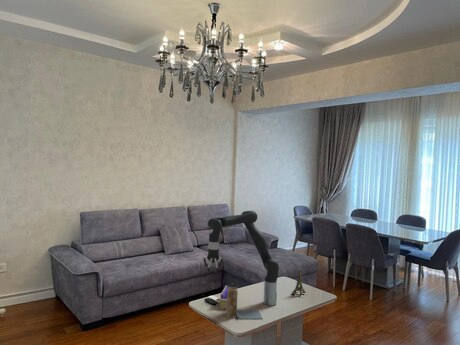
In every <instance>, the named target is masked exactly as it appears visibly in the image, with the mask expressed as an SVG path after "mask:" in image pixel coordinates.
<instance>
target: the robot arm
mask: <svg viewBox="0 0 460 345" xmlns="http://www.w3.org/2000/svg"><path fill="white" fill-rule="evenodd" d="M257 220H258V213H257V212H256V211H254V210H245V211H243V212H242V213H241V214H237V215H229V216H228V215H227V216H223V217H213V218H212V217H211V218H210V219H209V220H208V221H207V226H208V228H210V229H212V232H210V233H209V234H208V243H207V244H208V245H207V256H205V257H203V263H204V266H205V267H207V272H208V274H210V272H211V271H210V270H211V268H210V267H211V264H213V263H214V264H215V274H217V272H218V271H219V267H220V268H221V266H222V263H223V261H224V258H223V257H220V234H221V230H222V229H223V228H228V227H232V226H236V225H241V224H243V225H244V227H245V228H246V230H247V231H248V233H249V236H250V238H251V240H252V242H253V245H254V246H255V247H254V248H255V249H256V250H257V252H258V254H259V256H260V258H261V262H262V264H263V267H264V269H265V270H266V275H265V276H264V283H263V284H264V285H263V286H264V288H263V301H262V302H263V304H264V305H266V306H276V305H277V297H278V291H277V284H278V283H277V281H278V279H279V268H280V267H279V263H278V262H277V261H276V260H274V259H273V257H272V256H271V254H270V252H269V246H268V242H267V240H266V238H265V236H264V234H263V233H262V232H261V231H260V230H259V229H258V227H256V226H255V223H256V221H257ZM207 260H208V263H207ZM218 261H219V262H218Z"/></svg>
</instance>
